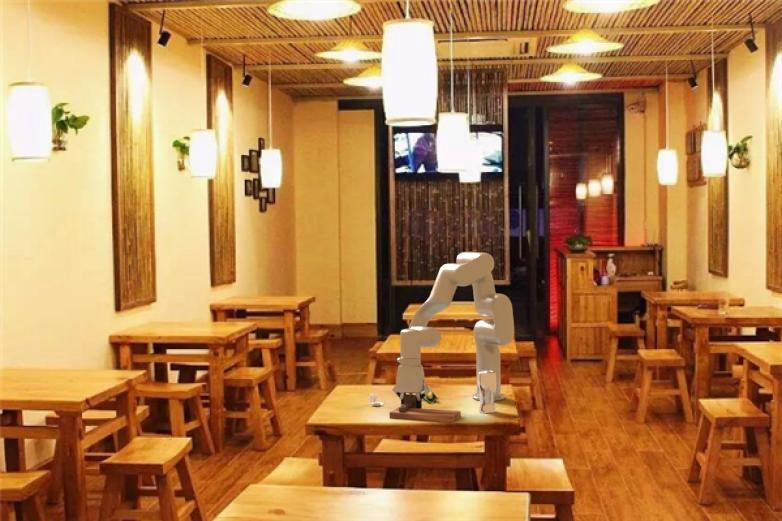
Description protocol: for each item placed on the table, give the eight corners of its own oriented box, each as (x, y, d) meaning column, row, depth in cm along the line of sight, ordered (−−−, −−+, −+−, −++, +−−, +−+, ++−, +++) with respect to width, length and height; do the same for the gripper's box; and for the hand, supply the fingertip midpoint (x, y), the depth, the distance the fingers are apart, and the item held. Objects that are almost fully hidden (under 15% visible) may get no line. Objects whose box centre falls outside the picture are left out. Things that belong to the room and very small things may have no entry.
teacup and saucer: (380, 408, 375) (380, 397, 374) (360, 407, 376) (360, 396, 376) (385, 403, 383) (385, 393, 383) (366, 402, 385) (365, 392, 385)
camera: (406, 409, 367) (406, 391, 366) (419, 410, 365) (418, 392, 365) (395, 417, 356) (394, 399, 355) (408, 418, 354) (407, 399, 353)
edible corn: (428, 394, 398) (428, 383, 398) (439, 404, 378) (439, 393, 378) (416, 395, 397) (416, 384, 397) (426, 405, 378) (426, 393, 377)
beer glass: (478, 413, 360) (477, 373, 359) (477, 409, 367) (477, 370, 366) (497, 413, 360) (496, 373, 359) (496, 409, 366) (495, 370, 366)
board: (399, 412, 364) (399, 407, 364) (460, 416, 355) (460, 411, 355) (389, 417, 355) (389, 412, 355) (452, 422, 346) (452, 416, 346)
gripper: (385, 362, 363) (386, 410, 364) (429, 364, 357) (429, 413, 358) (392, 359, 370) (393, 406, 371) (435, 361, 364) (436, 409, 365)
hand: (411, 409), depth 365 cm, fingers closed on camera, 5 cm apart
